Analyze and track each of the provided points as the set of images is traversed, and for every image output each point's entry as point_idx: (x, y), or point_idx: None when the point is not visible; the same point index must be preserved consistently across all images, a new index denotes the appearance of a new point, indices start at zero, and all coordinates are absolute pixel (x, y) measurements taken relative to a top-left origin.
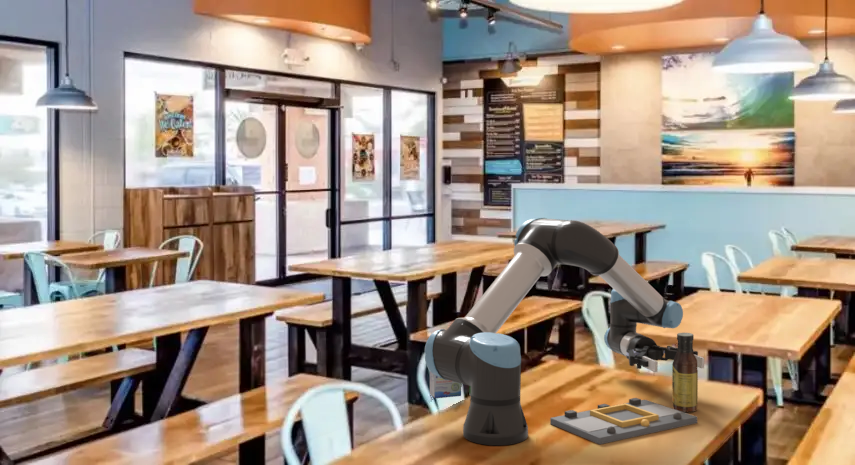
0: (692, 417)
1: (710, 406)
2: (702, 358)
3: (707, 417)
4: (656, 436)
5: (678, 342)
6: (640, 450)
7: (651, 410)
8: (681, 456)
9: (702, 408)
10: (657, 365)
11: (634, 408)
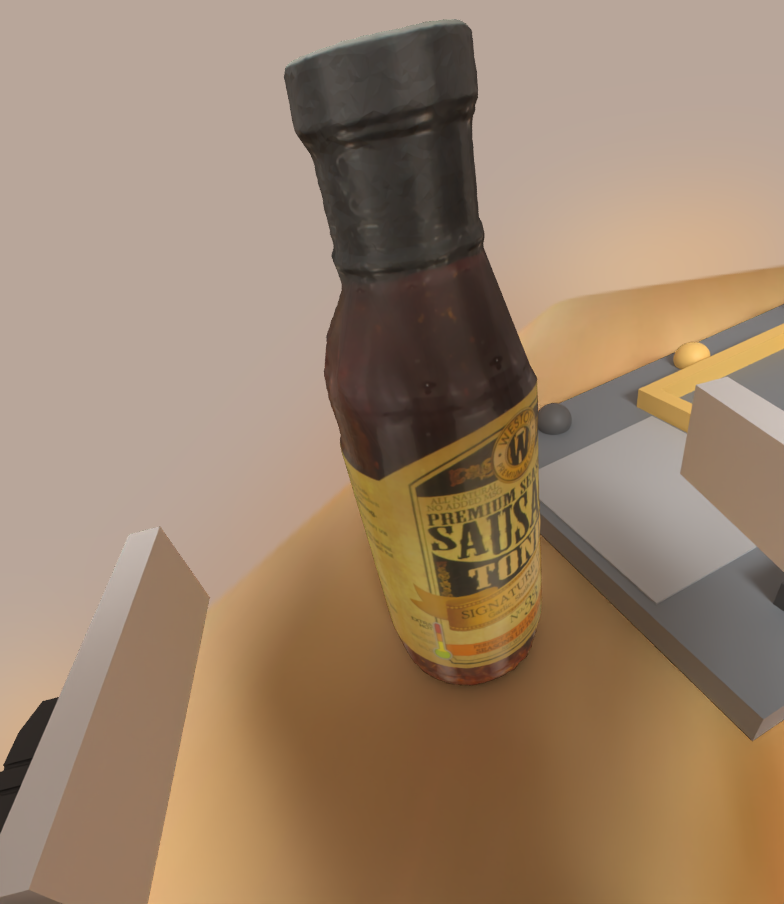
0: None
1: (290, 688)
2: (150, 532)
3: None
4: (641, 362)
5: (470, 139)
6: (685, 300)
7: (678, 489)
8: (578, 299)
9: (356, 650)
10: (690, 419)
11: None
